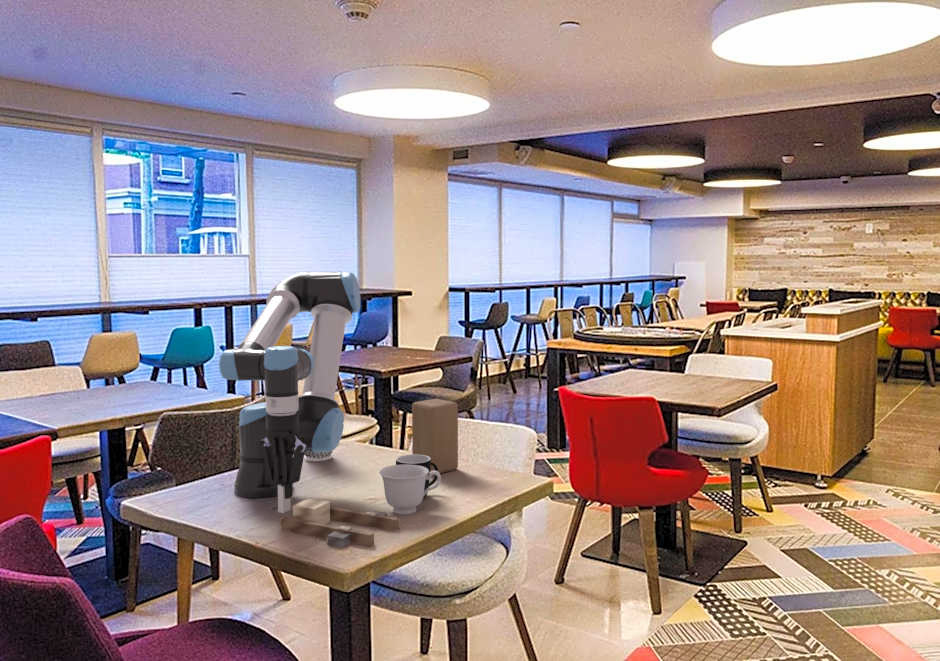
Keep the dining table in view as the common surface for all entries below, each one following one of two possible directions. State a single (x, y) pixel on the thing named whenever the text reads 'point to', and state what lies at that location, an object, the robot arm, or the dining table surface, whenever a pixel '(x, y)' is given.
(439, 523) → the dining table surface
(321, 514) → the block
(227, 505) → the dining table surface
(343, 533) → the beam slot
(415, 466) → the teacup
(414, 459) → the mug
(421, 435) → the block
